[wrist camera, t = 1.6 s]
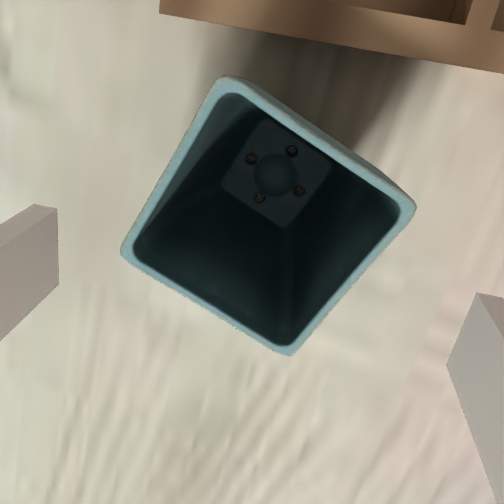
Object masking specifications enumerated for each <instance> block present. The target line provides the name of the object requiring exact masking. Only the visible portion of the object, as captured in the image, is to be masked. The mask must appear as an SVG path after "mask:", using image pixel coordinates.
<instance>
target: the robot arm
mask: <svg viewBox="0 0 504 504" xmlns="http://www.w3.org/2000/svg"><path fill="white" fill-rule="evenodd" d="M58 285H59V266H58V224H57V209H56V208H51V207H46V206H41V205H36V204H33V205H32V206H30V207H28V208H27V209H25V210H23V211H22V212H20V213H18V214H17V215H15V216H14V217H12V218H10V219H9V220H7V221H5V222H4V223H2V224H1V225H0V341H1V340H2V339H3V338H4V337H5V336H6V335H7V334H8V333H9V332H10V331H11V330H12V329H13V328H14V327H15V326H16V325H17V324H18V323H19V322H21V321H22V320H23V319H24V318H25V317H26V316H27V315H28V314H29V313H30V312H31V311H32V310H33V309H34V308H35V307H36V306H37V305H38V304H39V303H40V302H41V301H42V300H43V299H44V298H45V297H46V296H47V295H48V294H49V293H50V292H51V291H52V290H53V289H54V288H55V287H56V286H58ZM446 365H447V368H448V371H449V374H450V376H451V379H452V382H453V384H454V387H455V390H456V393H457V395H458V398H459V401H460V403H461V406H462V409H463V412H464V414H465V417H466V420H467V422H468V425H469V428H470V431H471V433H472V436H473V439H474V441H475V444H476V447H477V450H478V452H479V455H480V458H481V460H482V463H483V466H484V469H485V471H486V474H487V477H488V479H489V482H490V485H491V488H492V490H493V493H494V496H495V498H496V501H497V504H504V299H503V298H501V297H496V296H491V295H486V294H481V293H476V295H475V298H474V300H473V302H472V305H471V307H470V309H469V312H468V314H467V317H466V319H465V321H464V324H463V326H462V328H461V331H460V333H459V336H458V338H457V340H456V343H455V345H454V347H453V350H452V352H451V355H450V357H449V359H448V362H447V364H446Z"/></svg>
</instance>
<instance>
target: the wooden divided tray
mask: <svg viewBox="0 0 504 504" xmlns="http://www.w3.org/2000/svg"><path fill="white" fill-rule="evenodd" d="M159 13H160V14H166V15H171V16H177V17H183V18H188V19H194V20H200V21H205V22H211V23H217V24H223V25H228V26H234V27H240V28H245V29H251V30H257V31H262V32H268V33H274V34H280V35H285V36H291V37H297V38H302V39H308V40H314V41H319V42H325V43H331V44H337V45H342V46H348V47H354V48H359V49H365V50H371V51H376V52H382V53H388V54H393V55H399V56H405V57H411V58H416V59H422V60H428V61H433V62H439V63H445V64H450V65H456V66H462V67H468V68H473V69H479V70H485V71H490V72H496V73H502V74H504V0H160V7H159Z"/></svg>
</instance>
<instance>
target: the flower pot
mask: <svg viewBox="0 0 504 504" xmlns="http://www.w3.org/2000/svg"><path fill="white" fill-rule="evenodd" d="M291 146H293V147H295V148H296V149H297V153H296V154H295V155H290V154H289V153H288V148H289V147H291ZM251 154H253V155H255V157H256V161H255V162H254V163H249V162H248V161H247V157H248V156H249V155H251ZM298 186H301V187H303V188H304V192H303V194H301V195H297V194H296V193H295V188H296V187H298ZM258 193H261V194H263V195H264V197H265V198H264V200H263V201H262V202H258V201H257V200H256V198H255V196H256V194H258ZM416 209H417V206H416V204H415V202H414V200H413V199H412V198H411V197H410V196H409V195H407V194H406V193H405V192H404V191H403V190H402V189H401V188H400V187H399V186H398V185H397V184H395V183H394V182H393V181H392V180H391V179H390V178H389V177H387V176H386V175H385V174H384V173H383V172H382V171H380V170H379V169H378V168H376V167H375V166H373V165H372V164H370V163H369V162H368V161H366V160H365V159H363V158H362V157H360V156H359V155H357V154H356V153H354V152H353V151H351V150H350V149H348V148H347V147H346V146H344V145H343V144H341V143H340V142H338V141H337V140H335V139H334V138H332V137H331V136H329V135H328V134H327V133H325V132H324V131H322V130H321V129H319V128H318V127H316V126H315V125H313V124H312V123H311V122H309V121H308V120H306V119H305V118H303V117H302V116H300V115H299V114H298V113H296V112H295V111H293V110H292V109H290V108H289V107H287V106H286V105H285V104H283V103H282V102H280V101H279V100H277V99H276V98H275V97H273V96H272V95H270V94H269V93H267V92H266V91H265V90H263V89H262V88H261V87H259V86H258V85H256V84H255V83H253V82H251V81H249V80H246V79H243V78H239V77H235V76H231V75H223V76H221V77H219V78H218V79H217V80H216V81H215V82H214V84H213V85H212V86H211V88H210V90H209V92H208V93H207V95H206V97H205V99H204V101H203V103H202V105H201V106H200V108H199V110H198V112H197V114H196V115H195V117H194V119H193V121H192V123H191V124H190V126H189V128H188V130H187V132H186V133H185V135H184V137H183V139H182V141H181V142H180V144H179V146H178V148H177V149H176V151H175V153H174V154H173V156H172V158H171V160H170V162H169V164H168V165H167V167H166V169H165V170H164V172H163V174H162V176H161V177H160V179H159V181H158V182H157V184H156V186H155V188H154V190H153V191H152V193H151V195H150V196H149V198H148V200H147V202H146V203H145V205H144V207H143V208H142V210H141V212H140V214H139V215H138V217H137V219H136V221H135V222H134V224H133V226H132V227H131V229H130V231H129V232H128V234H127V236H126V237H125V239H124V241H123V243H122V245H121V248H120V254H121V256H122V257H123V258H124V259H125V260H126V261H127V262H128V263H129V264H131V265H132V266H133V267H135V268H137V269H138V270H140V271H142V272H143V273H145V274H147V275H148V276H150V277H152V278H153V279H155V280H157V281H159V282H160V283H162V284H164V285H166V286H167V287H169V288H171V289H173V290H175V291H176V292H178V293H179V294H182V295H183V296H184V297H187V298H188V299H190V300H191V301H193V302H194V303H196V304H198V305H200V306H201V307H202V308H205V309H206V310H208V311H210V312H211V313H213V314H215V315H216V316H218V317H219V318H221V319H222V320H224V321H226V322H227V323H229V324H231V325H232V326H233V327H236V329H238V330H240V331H241V332H244V333H245V334H246V335H248V336H250V337H251V338H253V339H255V340H256V341H258V342H259V343H261V344H263V345H264V346H266V347H268V348H269V349H271V350H272V351H274V352H276V353H279V354H281V355H285V356H291V355H293V354H294V353H295V352H296V351H297V350H298V349H299V348H300V347H301V346H302V345H303V344H304V342H305V341H306V340H307V339H308V338H309V337H310V336H311V334H312V333H313V332H314V330H315V329H316V328H317V327H318V326H319V325H320V323H321V322H322V321H323V319H324V318H325V317H326V316H327V315H328V313H329V312H330V311H331V310H332V309H333V308H334V307H335V306H336V304H337V303H338V302H339V301H340V300H341V298H342V297H343V296H344V295H345V294H346V293H347V292H348V290H349V289H350V288H351V287H352V286H353V285H354V284H355V282H356V281H357V280H358V279H359V278H360V277H361V276H362V274H363V273H364V272H365V271H366V270H367V269H368V267H370V265H371V264H372V263H373V262H374V260H375V259H376V258H377V257H378V256H379V255H380V254H381V253H382V252H383V250H384V249H385V248H387V246H388V245H389V244H390V243H391V242H392V241H393V240H394V239H395V237H396V236H397V235H398V234H399V233H400V232H401V231H402V230H403V229H404V228H405V227H406V226H407V225H408V223H409V222H410V221H411V219H412V218H413V216H414V214H415V211H416Z"/></svg>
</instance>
